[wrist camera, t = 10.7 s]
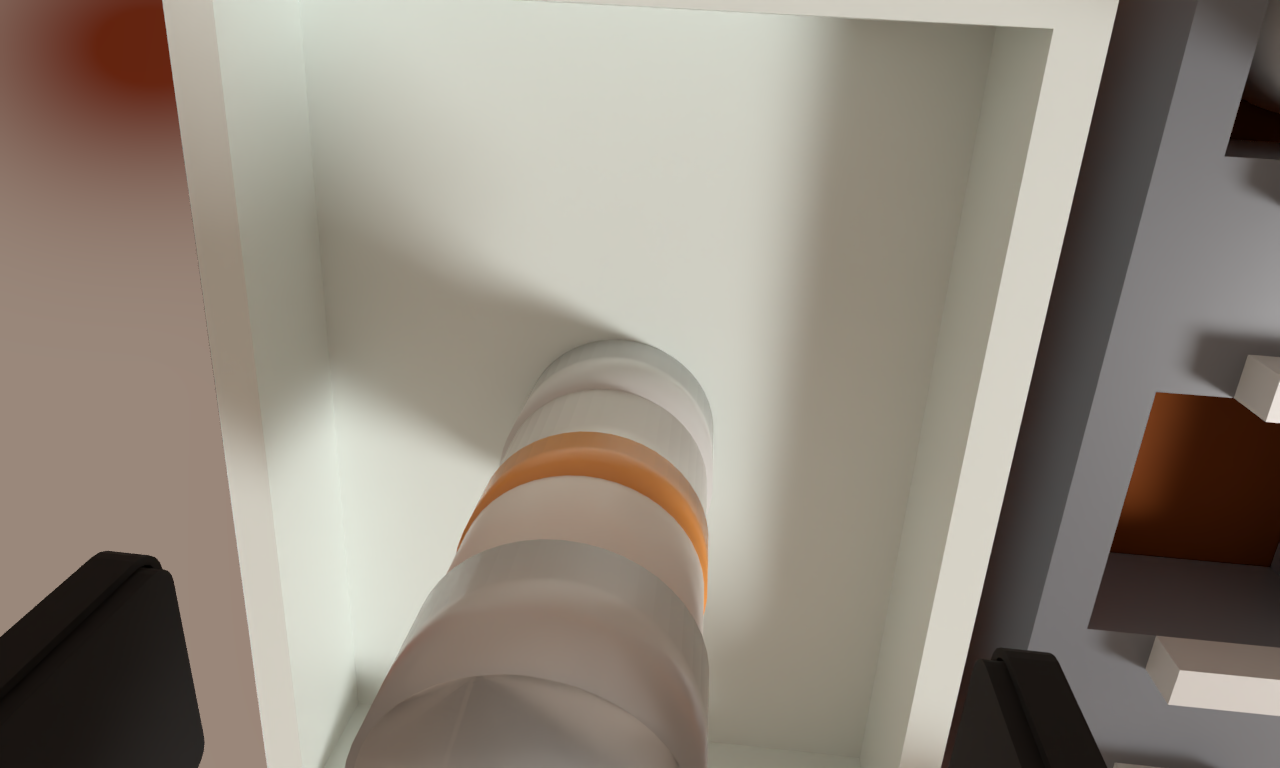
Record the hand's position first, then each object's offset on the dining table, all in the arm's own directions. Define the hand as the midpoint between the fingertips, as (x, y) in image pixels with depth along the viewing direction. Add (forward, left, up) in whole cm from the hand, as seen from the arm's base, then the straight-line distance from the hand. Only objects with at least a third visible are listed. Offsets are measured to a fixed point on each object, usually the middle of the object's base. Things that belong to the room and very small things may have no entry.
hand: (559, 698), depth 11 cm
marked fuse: (+1, 0, -9) cm, 9 cm away
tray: (+1, 0, -10) cm, 10 cm away
